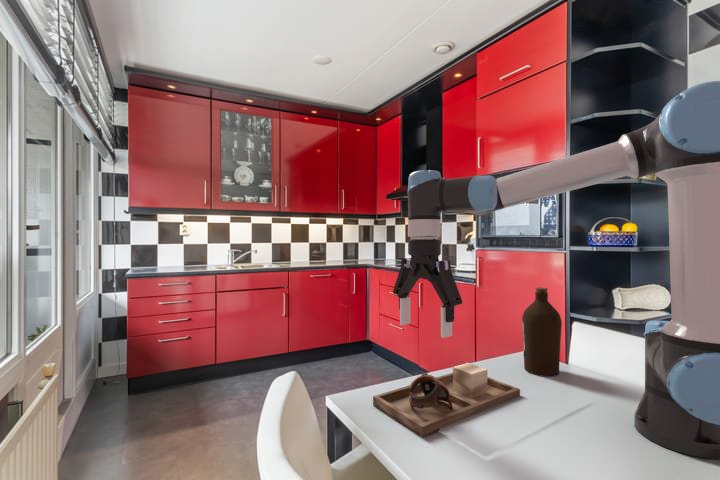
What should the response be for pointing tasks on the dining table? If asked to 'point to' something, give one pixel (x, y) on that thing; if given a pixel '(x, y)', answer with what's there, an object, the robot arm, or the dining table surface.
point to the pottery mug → (429, 392)
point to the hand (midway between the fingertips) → (424, 330)
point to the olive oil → (541, 336)
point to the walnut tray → (441, 405)
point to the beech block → (470, 380)
